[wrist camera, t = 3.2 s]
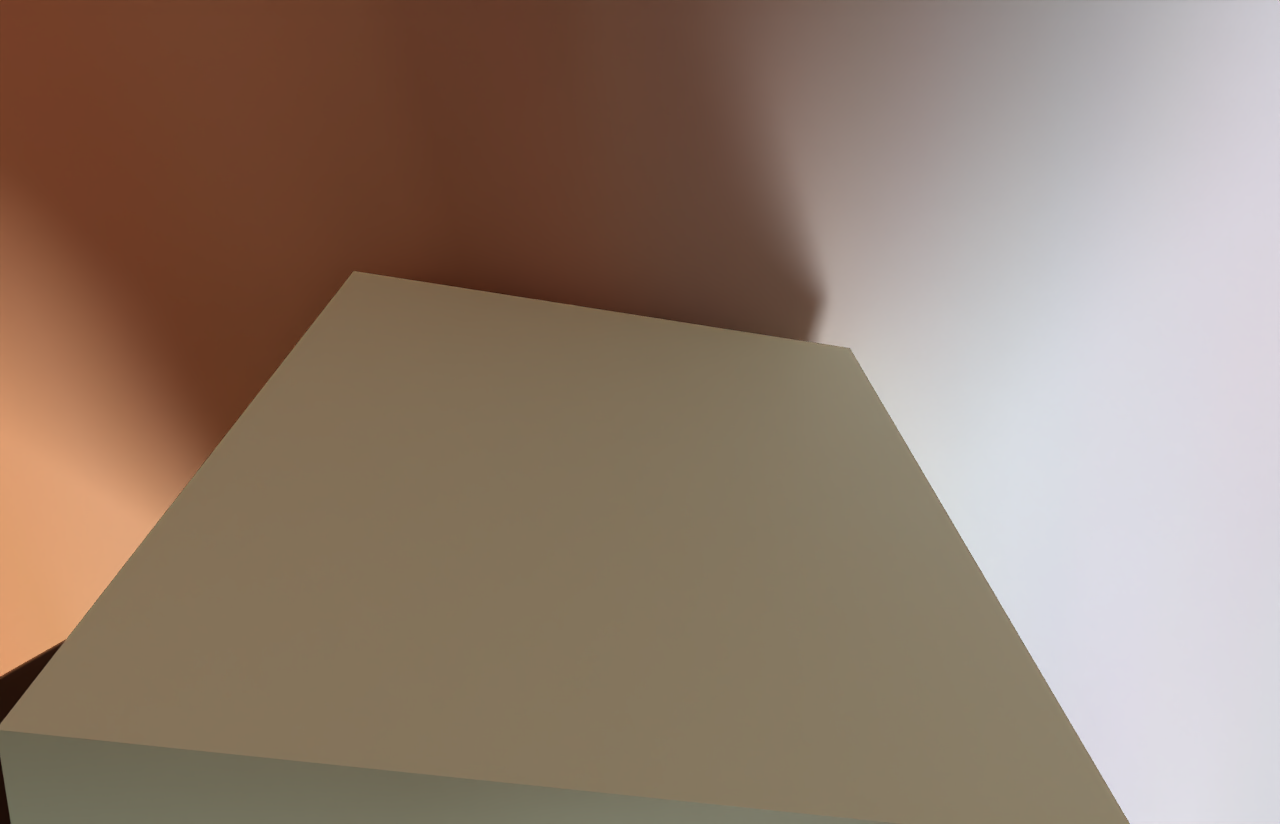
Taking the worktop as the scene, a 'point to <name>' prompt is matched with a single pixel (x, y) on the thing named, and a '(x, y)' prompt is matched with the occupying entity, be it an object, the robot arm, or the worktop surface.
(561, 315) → the cream block
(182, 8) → the worktop surface
